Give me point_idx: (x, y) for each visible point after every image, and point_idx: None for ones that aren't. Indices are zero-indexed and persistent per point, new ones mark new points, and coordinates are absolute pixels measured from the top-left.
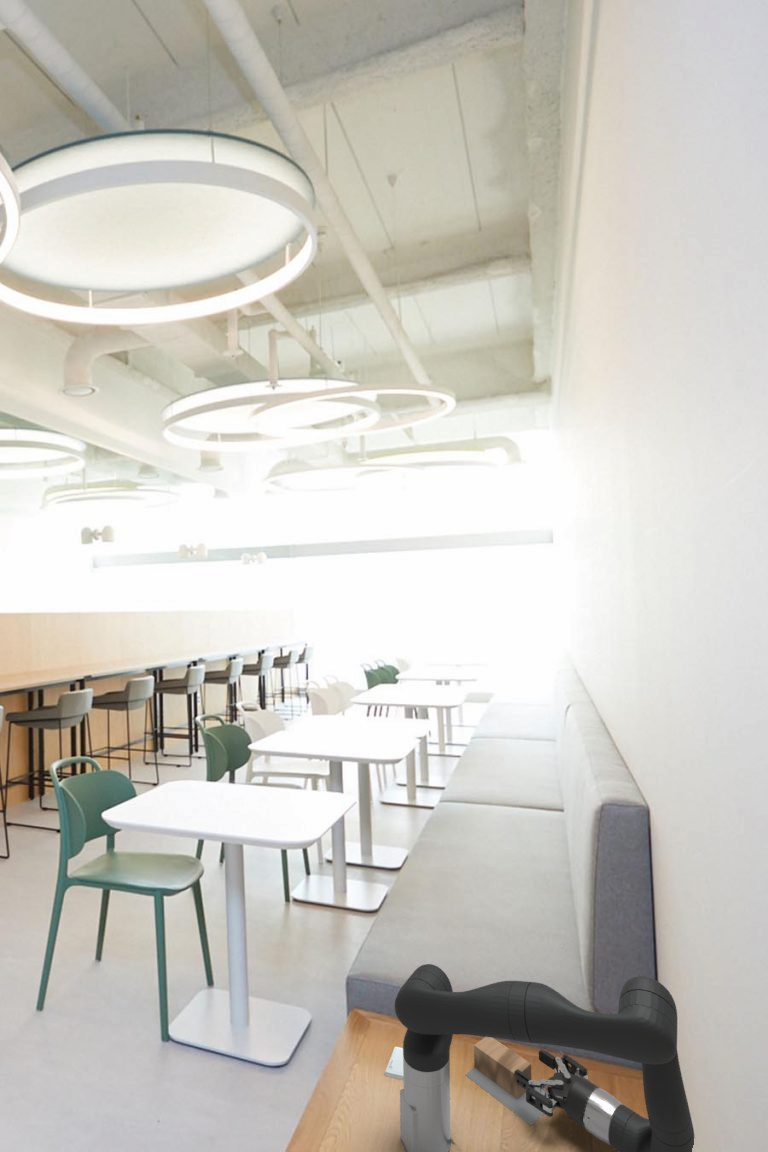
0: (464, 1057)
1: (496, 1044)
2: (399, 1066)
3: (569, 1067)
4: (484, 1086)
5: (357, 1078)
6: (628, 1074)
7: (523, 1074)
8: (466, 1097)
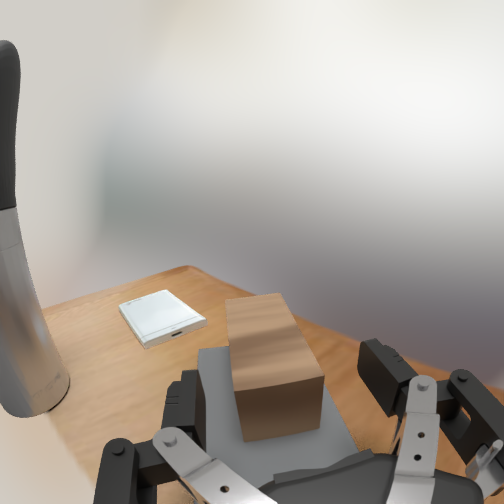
0: None
1: (275, 310)
2: (136, 306)
3: (460, 419)
4: (205, 381)
5: (98, 303)
6: None
7: (189, 395)
8: (159, 382)
